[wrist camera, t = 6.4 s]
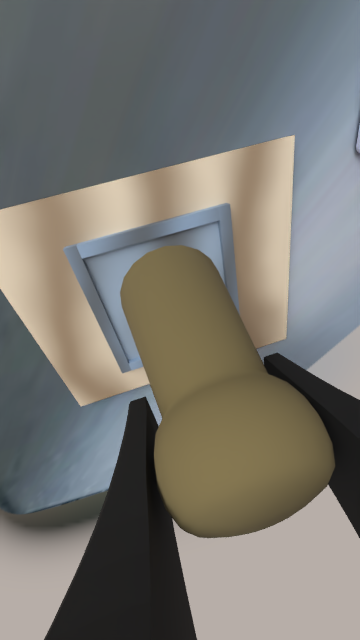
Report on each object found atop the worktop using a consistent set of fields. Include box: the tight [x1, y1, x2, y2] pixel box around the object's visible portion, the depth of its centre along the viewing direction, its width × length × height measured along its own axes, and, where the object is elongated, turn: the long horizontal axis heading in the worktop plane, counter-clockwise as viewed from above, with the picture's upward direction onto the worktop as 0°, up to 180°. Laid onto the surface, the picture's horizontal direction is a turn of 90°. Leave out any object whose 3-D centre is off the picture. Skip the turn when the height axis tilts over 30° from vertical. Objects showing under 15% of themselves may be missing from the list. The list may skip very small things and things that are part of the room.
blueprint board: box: [0, 135, 295, 406], centre depth 19 cm, size 20×16×1 cm
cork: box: [120, 245, 335, 538], centre depth 10 cm, size 6×6×11 cm
